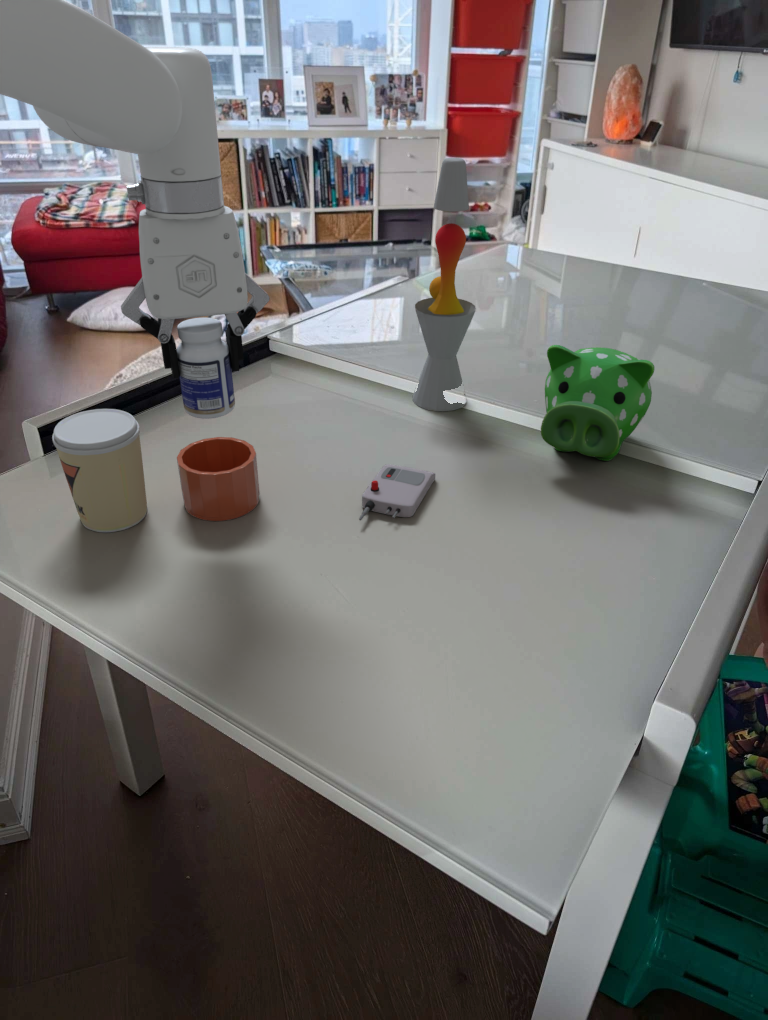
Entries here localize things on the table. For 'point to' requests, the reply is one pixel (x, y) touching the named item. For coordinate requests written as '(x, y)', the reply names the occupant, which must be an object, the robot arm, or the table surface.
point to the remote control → (396, 491)
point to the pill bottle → (205, 369)
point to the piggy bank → (594, 399)
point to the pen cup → (219, 478)
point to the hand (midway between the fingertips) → (204, 368)
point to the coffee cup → (103, 467)
